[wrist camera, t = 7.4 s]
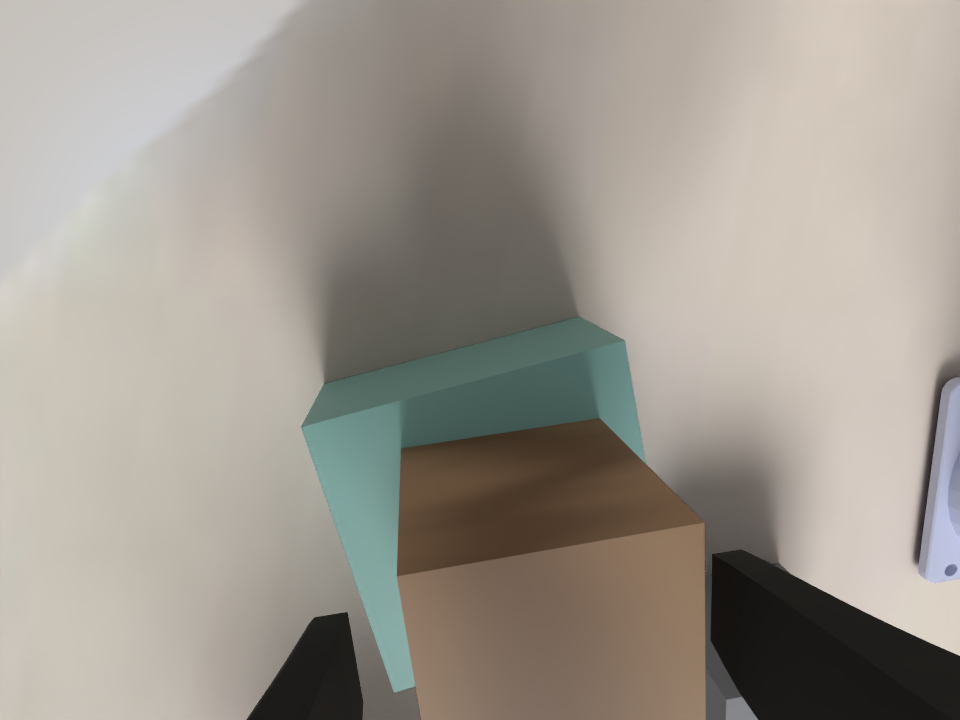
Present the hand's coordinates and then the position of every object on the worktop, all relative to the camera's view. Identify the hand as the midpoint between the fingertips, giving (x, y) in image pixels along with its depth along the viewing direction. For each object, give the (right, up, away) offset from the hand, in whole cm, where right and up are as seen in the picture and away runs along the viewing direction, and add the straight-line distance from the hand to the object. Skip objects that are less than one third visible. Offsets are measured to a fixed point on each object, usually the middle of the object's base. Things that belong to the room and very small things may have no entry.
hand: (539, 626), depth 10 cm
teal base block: (-1, +2, +7) cm, 8 cm away
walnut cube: (0, +1, +4) cm, 4 cm away
